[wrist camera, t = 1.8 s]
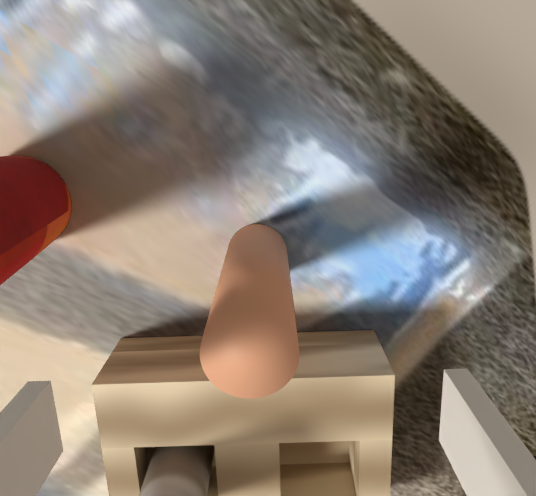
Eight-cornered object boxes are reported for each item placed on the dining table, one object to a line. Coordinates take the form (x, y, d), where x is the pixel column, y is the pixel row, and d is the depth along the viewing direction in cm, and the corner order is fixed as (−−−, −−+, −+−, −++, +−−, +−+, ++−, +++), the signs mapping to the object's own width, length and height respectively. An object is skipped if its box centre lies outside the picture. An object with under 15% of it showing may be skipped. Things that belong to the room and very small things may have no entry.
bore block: (120, 338, 35) (28, 485, 21) (374, 330, 35) (440, 473, 21) (142, 497, 39) (75, 706, 25) (369, 491, 38) (423, 698, 25)
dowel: (226, 225, 32) (195, 310, 19) (286, 223, 32) (298, 307, 19) (229, 281, 34) (203, 400, 20) (287, 279, 33) (300, 397, 20)
